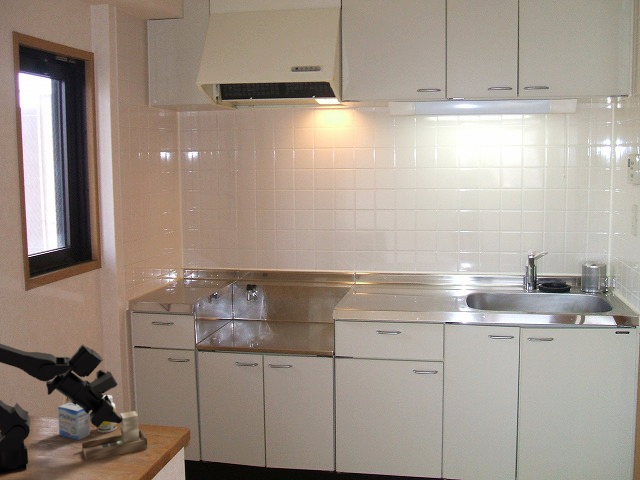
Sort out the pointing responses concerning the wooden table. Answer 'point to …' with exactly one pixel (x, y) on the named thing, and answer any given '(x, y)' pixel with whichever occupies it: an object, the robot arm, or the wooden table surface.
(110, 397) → the supplement bottle
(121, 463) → the wooden table surface
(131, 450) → the box
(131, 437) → the cream block
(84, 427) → the medicine box
